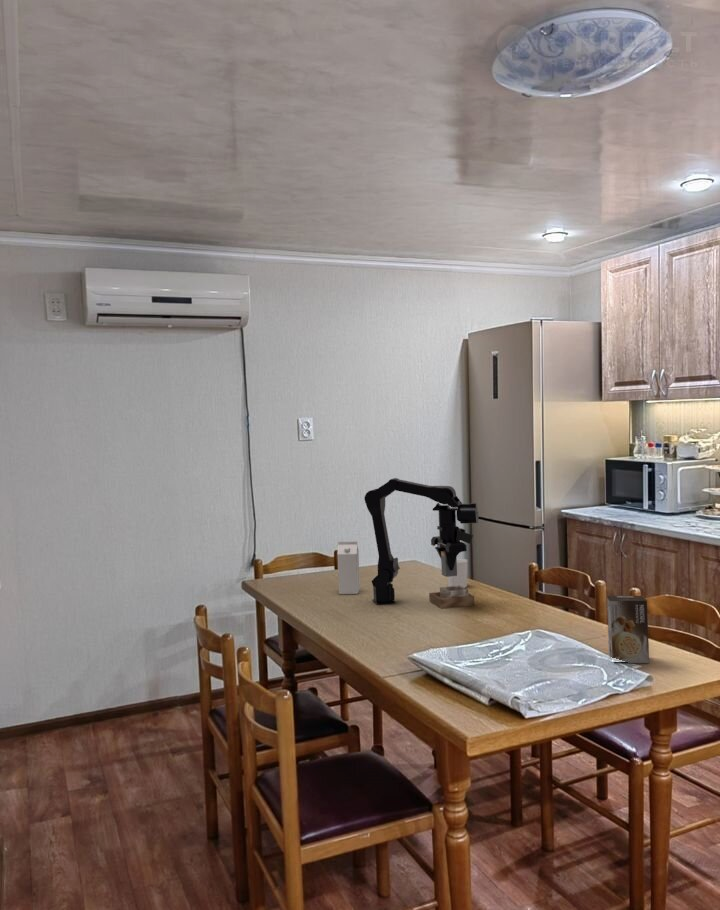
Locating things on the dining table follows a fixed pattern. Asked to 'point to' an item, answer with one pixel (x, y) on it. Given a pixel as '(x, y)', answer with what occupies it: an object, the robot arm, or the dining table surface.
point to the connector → (445, 568)
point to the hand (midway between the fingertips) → (449, 569)
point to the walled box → (451, 597)
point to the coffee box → (628, 628)
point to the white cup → (459, 574)
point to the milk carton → (348, 567)
